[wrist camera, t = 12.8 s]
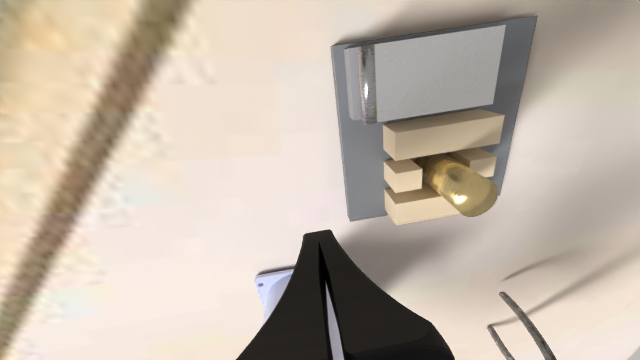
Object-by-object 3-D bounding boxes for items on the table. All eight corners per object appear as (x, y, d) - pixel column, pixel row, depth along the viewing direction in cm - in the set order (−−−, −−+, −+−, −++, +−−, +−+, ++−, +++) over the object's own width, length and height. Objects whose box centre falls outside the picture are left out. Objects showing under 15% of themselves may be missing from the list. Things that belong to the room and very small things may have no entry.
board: (491, 190, 24) (522, 209, 21) (347, 215, 23) (356, 239, 20) (525, 17, 18) (575, 8, 15) (330, 46, 17) (339, 43, 14)
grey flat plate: (484, 102, 17) (495, 104, 16) (360, 121, 17) (364, 125, 16) (495, 26, 15) (508, 24, 14) (355, 47, 15) (359, 46, 14)
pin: (443, 174, 21) (494, 212, 16) (413, 180, 21) (455, 220, 16) (445, 145, 20) (501, 175, 15) (413, 151, 20) (458, 184, 15)
